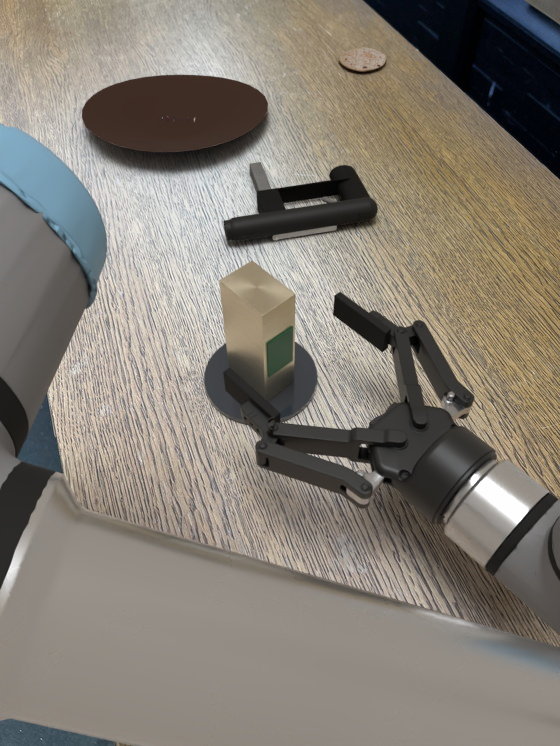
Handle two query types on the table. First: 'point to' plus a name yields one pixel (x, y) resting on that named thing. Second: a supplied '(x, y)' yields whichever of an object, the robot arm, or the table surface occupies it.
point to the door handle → (303, 219)
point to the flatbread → (362, 59)
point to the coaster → (284, 401)
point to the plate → (174, 112)
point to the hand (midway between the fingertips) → (284, 339)
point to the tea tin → (259, 328)
